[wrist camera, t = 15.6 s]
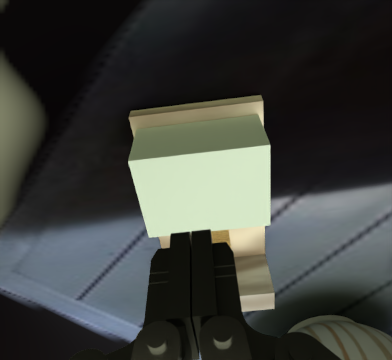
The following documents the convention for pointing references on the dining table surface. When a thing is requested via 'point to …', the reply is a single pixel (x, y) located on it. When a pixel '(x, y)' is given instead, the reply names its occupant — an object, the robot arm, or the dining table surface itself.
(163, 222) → the block
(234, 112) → the vise
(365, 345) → the decorative bowl
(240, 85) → the dining table surface
